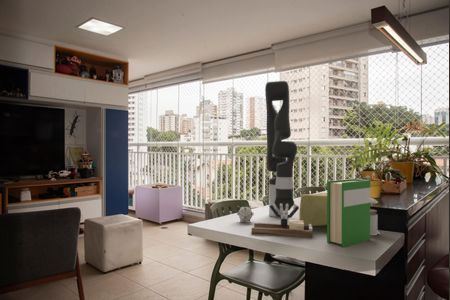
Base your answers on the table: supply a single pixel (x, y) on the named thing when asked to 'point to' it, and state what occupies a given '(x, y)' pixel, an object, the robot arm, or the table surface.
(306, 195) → the cheese
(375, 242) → the table surface
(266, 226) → the chute
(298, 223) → the maple block
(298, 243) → the table surface
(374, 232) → the french press
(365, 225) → the hardback book
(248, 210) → the grey bumpy ball
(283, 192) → the robot arm
